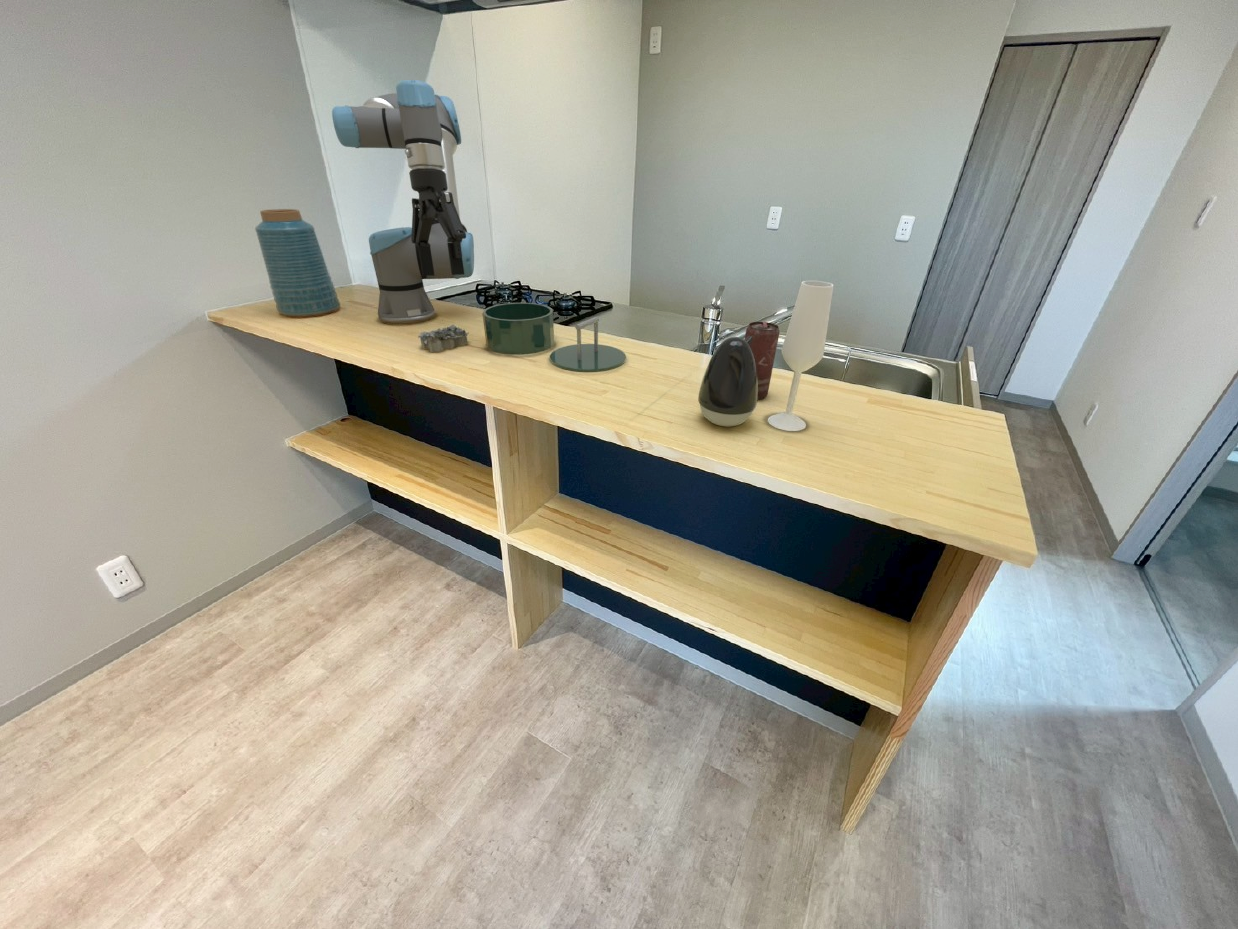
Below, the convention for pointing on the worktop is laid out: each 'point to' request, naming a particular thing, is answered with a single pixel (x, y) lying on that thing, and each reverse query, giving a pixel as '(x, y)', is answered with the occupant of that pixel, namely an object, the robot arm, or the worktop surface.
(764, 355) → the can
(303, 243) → the vase
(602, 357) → the lid
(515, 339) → the pot
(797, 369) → the champagne flute
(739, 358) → the dark grey egg shape
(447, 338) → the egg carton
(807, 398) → the worktop surface
